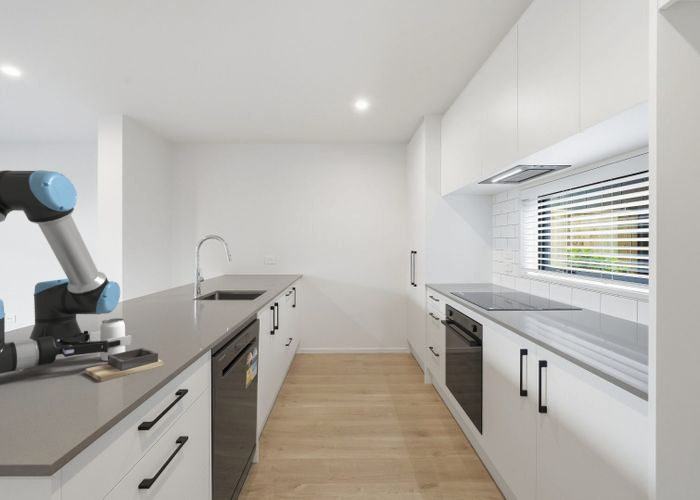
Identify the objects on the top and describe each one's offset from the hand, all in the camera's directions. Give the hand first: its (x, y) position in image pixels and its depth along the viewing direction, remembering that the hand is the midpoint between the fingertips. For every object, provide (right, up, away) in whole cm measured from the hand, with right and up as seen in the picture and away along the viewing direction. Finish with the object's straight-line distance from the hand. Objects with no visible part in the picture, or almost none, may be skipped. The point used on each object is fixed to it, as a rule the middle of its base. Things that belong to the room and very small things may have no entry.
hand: (121, 336), depth 115 cm
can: (-2, -7, -2) cm, 7 cm away
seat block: (+9, -7, -12) cm, 16 cm away
